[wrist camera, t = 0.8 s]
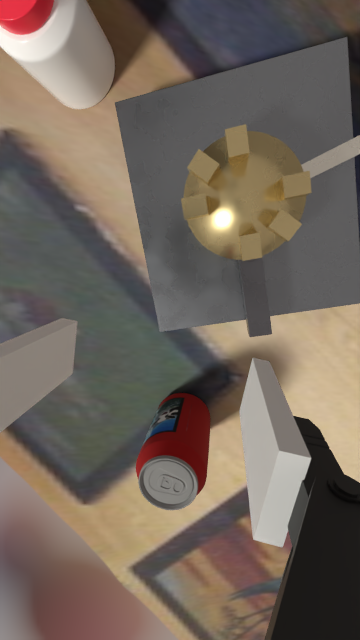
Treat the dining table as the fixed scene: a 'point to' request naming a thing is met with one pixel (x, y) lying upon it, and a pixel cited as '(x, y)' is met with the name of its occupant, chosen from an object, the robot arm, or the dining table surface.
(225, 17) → the dining table surface
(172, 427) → the beverage can
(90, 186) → the dining table surface
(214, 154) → the studded gold disc
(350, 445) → the dining table surface
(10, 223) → the dining table surface
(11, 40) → the pill bottle
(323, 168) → the housing
